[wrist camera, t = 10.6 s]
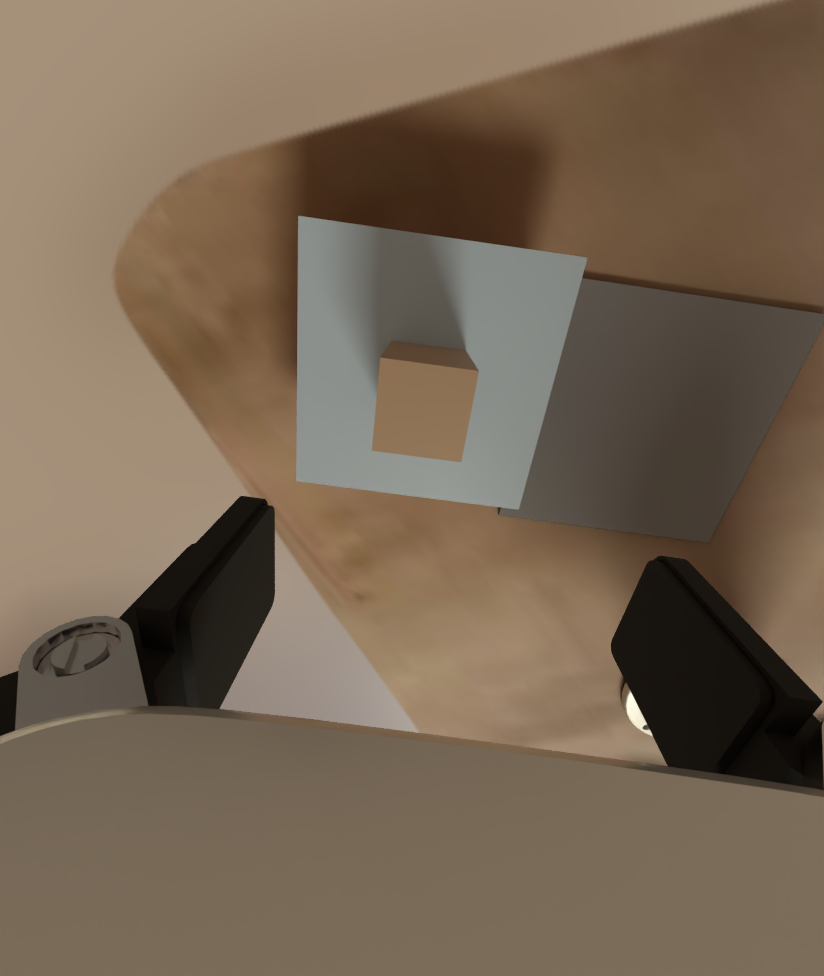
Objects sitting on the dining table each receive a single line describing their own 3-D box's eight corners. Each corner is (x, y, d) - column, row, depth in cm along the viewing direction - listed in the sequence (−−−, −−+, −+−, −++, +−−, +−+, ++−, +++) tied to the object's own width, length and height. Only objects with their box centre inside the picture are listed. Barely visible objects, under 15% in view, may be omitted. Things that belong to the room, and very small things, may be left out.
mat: (823, 314, 26) (829, 314, 26) (705, 540, 34) (708, 542, 33) (558, 275, 26) (560, 274, 25) (498, 512, 33) (498, 515, 33)
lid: (580, 258, 21) (646, 246, 15) (515, 502, 27) (542, 567, 21) (303, 218, 21) (249, 188, 14) (300, 474, 27) (261, 532, 20)
